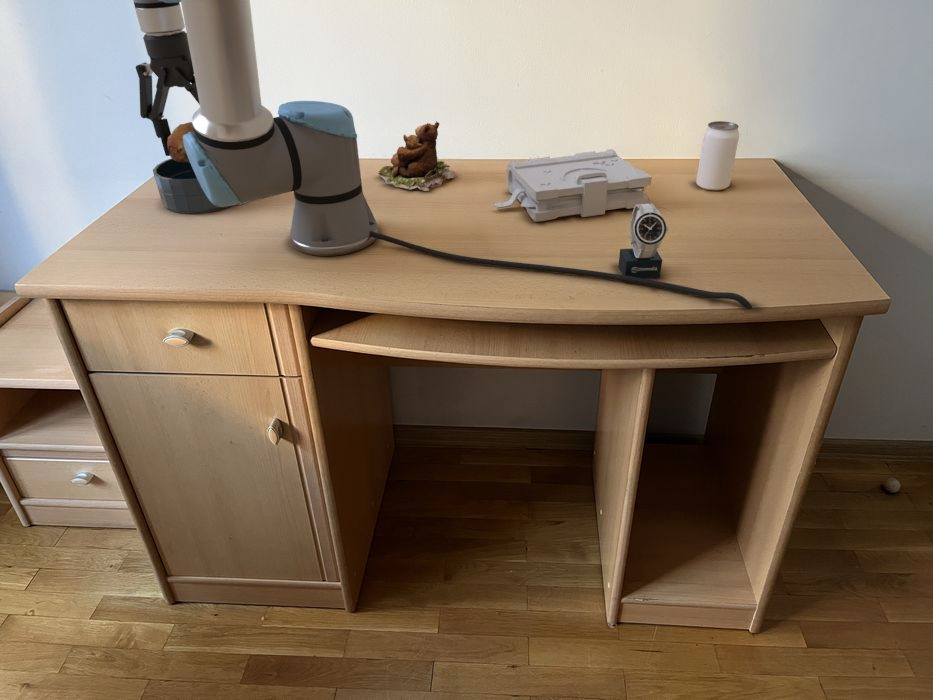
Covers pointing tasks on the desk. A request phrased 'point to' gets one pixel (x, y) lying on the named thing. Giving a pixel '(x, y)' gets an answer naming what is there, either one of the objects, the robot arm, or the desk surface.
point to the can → (717, 155)
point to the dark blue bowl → (181, 188)
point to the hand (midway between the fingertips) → (195, 154)
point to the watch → (644, 243)
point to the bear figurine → (417, 162)
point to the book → (575, 185)
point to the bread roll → (179, 142)
